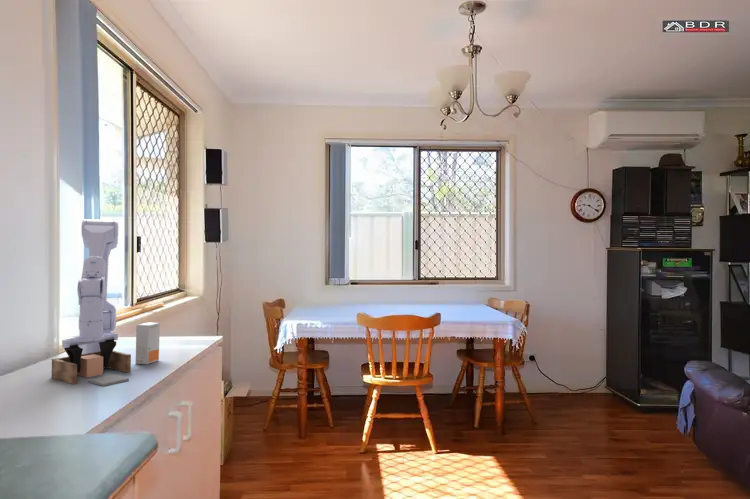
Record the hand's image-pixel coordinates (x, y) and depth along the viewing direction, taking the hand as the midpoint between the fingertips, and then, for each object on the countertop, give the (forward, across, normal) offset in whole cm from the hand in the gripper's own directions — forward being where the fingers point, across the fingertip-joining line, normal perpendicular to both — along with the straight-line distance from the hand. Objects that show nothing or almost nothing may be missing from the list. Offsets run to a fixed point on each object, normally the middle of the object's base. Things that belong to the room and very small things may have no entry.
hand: (90, 369), depth 144 cm
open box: (+1, 0, -1) cm, 2 cm away
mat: (+1, -1, -11) cm, 11 cm away
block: (+2, 0, 0) cm, 2 cm away
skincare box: (+2, +18, +1) cm, 18 cm away
